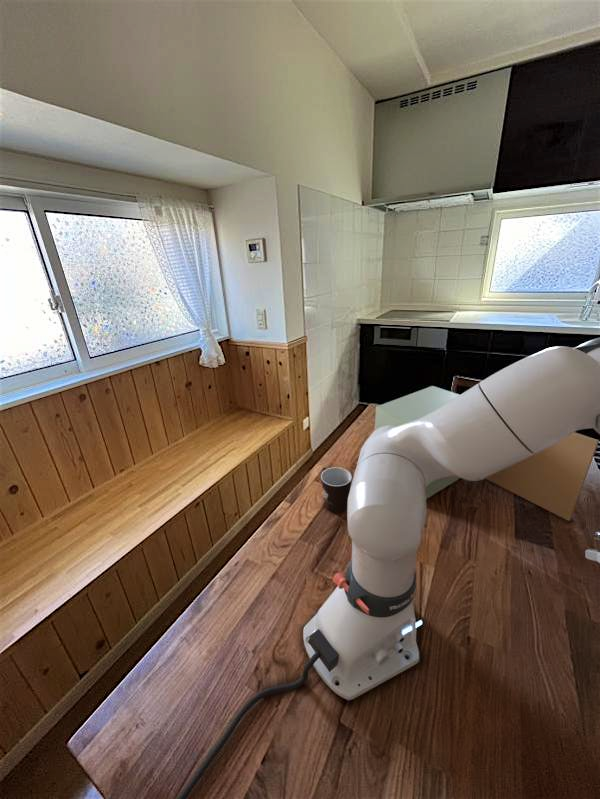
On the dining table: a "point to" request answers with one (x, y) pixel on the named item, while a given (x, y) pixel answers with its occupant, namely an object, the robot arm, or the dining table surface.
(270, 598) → the dining table surface
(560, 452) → the cupboard door
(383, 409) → the cupboard
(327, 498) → the coffee mug
